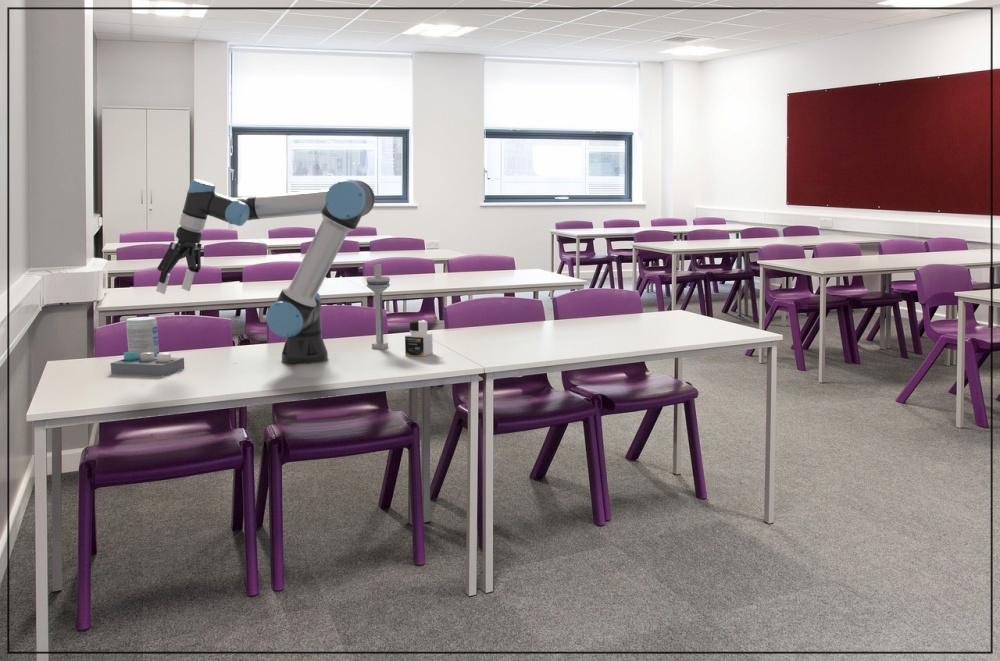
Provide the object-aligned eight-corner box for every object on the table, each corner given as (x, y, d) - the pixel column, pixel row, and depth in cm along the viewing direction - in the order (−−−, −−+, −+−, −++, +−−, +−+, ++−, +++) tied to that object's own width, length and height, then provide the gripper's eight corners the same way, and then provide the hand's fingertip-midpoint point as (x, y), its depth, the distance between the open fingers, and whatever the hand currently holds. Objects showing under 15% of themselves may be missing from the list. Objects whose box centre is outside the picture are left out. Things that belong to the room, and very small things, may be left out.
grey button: (157, 361, 283) (156, 352, 283) (149, 364, 279) (148, 354, 279) (146, 361, 284) (145, 351, 284) (138, 363, 280) (137, 354, 280)
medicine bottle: (405, 355, 305) (404, 321, 303) (414, 352, 311) (413, 318, 309) (423, 357, 302) (422, 322, 300) (433, 353, 309) (432, 319, 307)
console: (184, 368, 286) (183, 357, 285) (162, 376, 274) (161, 365, 274) (135, 366, 290) (134, 356, 289) (111, 374, 278) (110, 363, 278)
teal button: (140, 360, 284) (139, 351, 284) (132, 363, 281) (132, 354, 280) (129, 360, 285) (128, 351, 285) (121, 362, 282) (120, 353, 281)
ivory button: (174, 362, 282) (173, 352, 281) (166, 364, 278) (166, 355, 278) (162, 361, 283) (162, 352, 282) (155, 364, 279) (154, 354, 278)
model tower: (383, 350, 315) (381, 266, 310) (363, 349, 318) (361, 265, 314) (396, 346, 322) (393, 264, 318) (376, 345, 326) (374, 263, 321)
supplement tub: (162, 362, 297) (159, 318, 294) (132, 365, 291) (129, 321, 289) (155, 358, 305) (152, 315, 302) (126, 361, 299) (123, 317, 297)
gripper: (202, 224, 295) (185, 284, 298) (156, 224, 271) (139, 289, 274) (222, 232, 293) (204, 292, 297) (177, 232, 269) (159, 297, 273)
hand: (173, 291), depth 286 cm, fingers open, 13 cm apart
